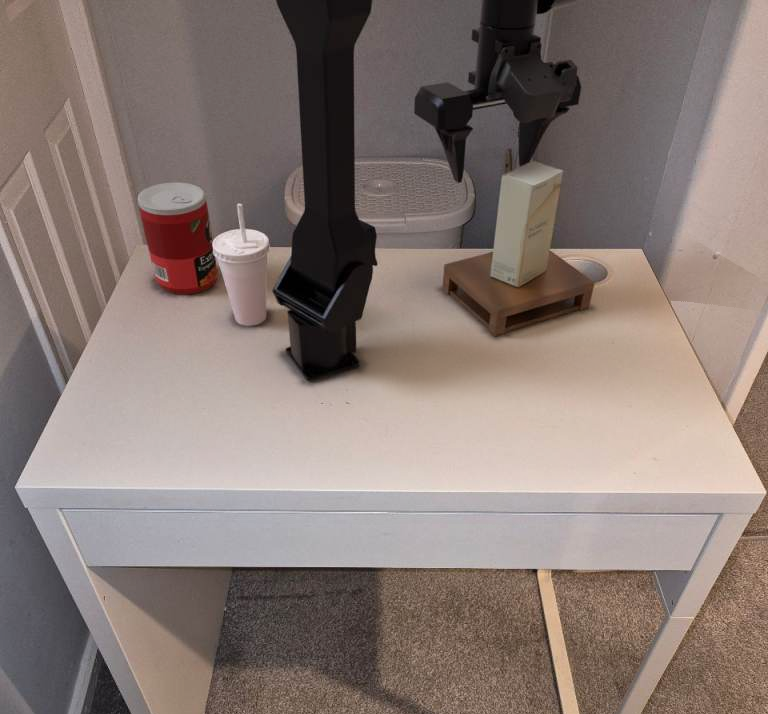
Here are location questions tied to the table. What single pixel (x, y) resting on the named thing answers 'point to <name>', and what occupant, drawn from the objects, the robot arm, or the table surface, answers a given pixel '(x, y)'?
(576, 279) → the shelf
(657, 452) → the table surface
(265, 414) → the table surface
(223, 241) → the smoothie
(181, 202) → the canned food
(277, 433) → the table surface
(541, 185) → the cosmetic box
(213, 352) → the table surface
